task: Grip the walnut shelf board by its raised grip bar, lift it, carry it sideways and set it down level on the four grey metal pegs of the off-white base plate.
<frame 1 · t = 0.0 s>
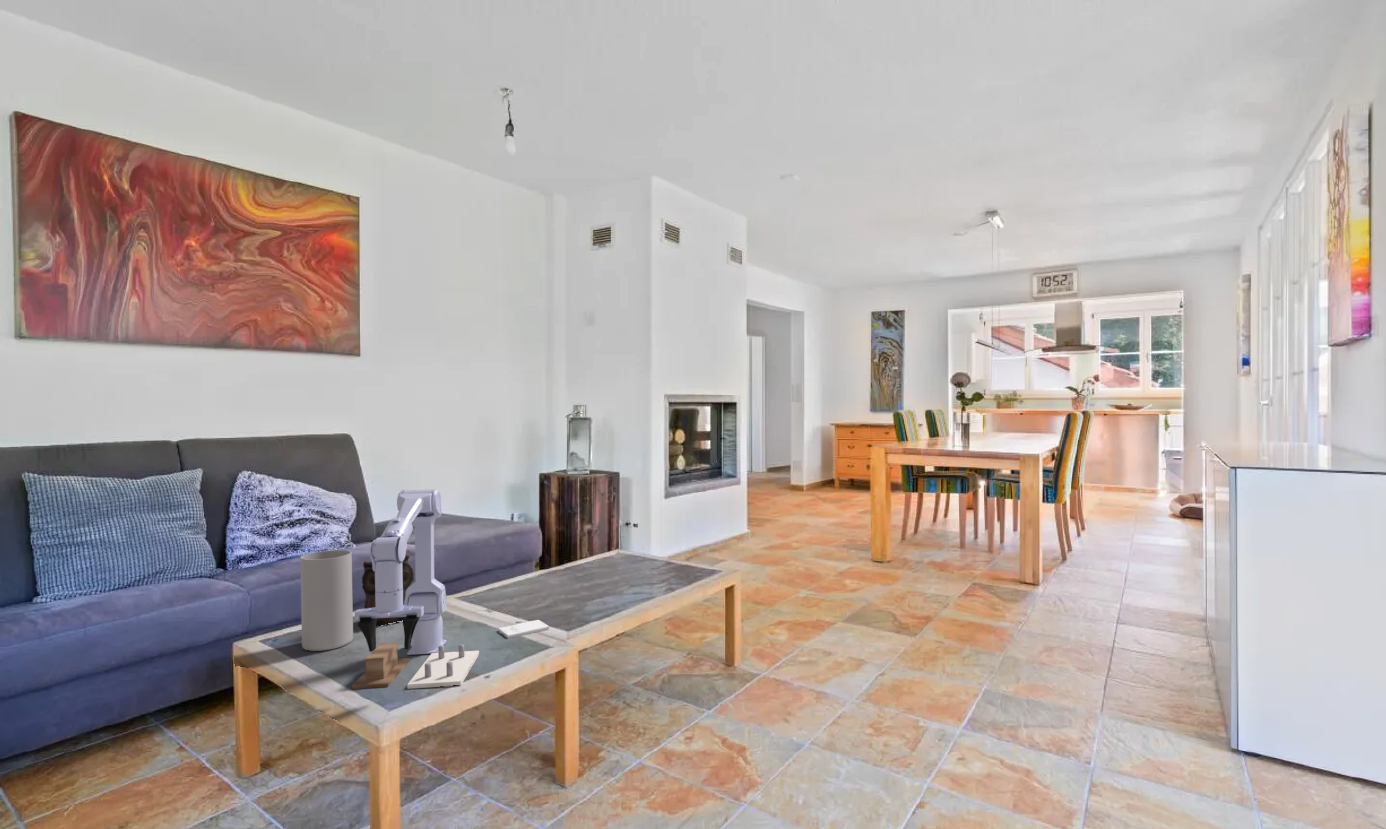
hand: (390, 649, 150), 10 cm above the table, tool pointing down, fingers open, 7 cm apart
peg base: (445, 670, 163), on the table
cylinder vase: (328, 644, 183), on the table
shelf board: (382, 676, 161), on the table
owl: (390, 620, 204), on the table
external hard drive: (523, 632, 192), on the table
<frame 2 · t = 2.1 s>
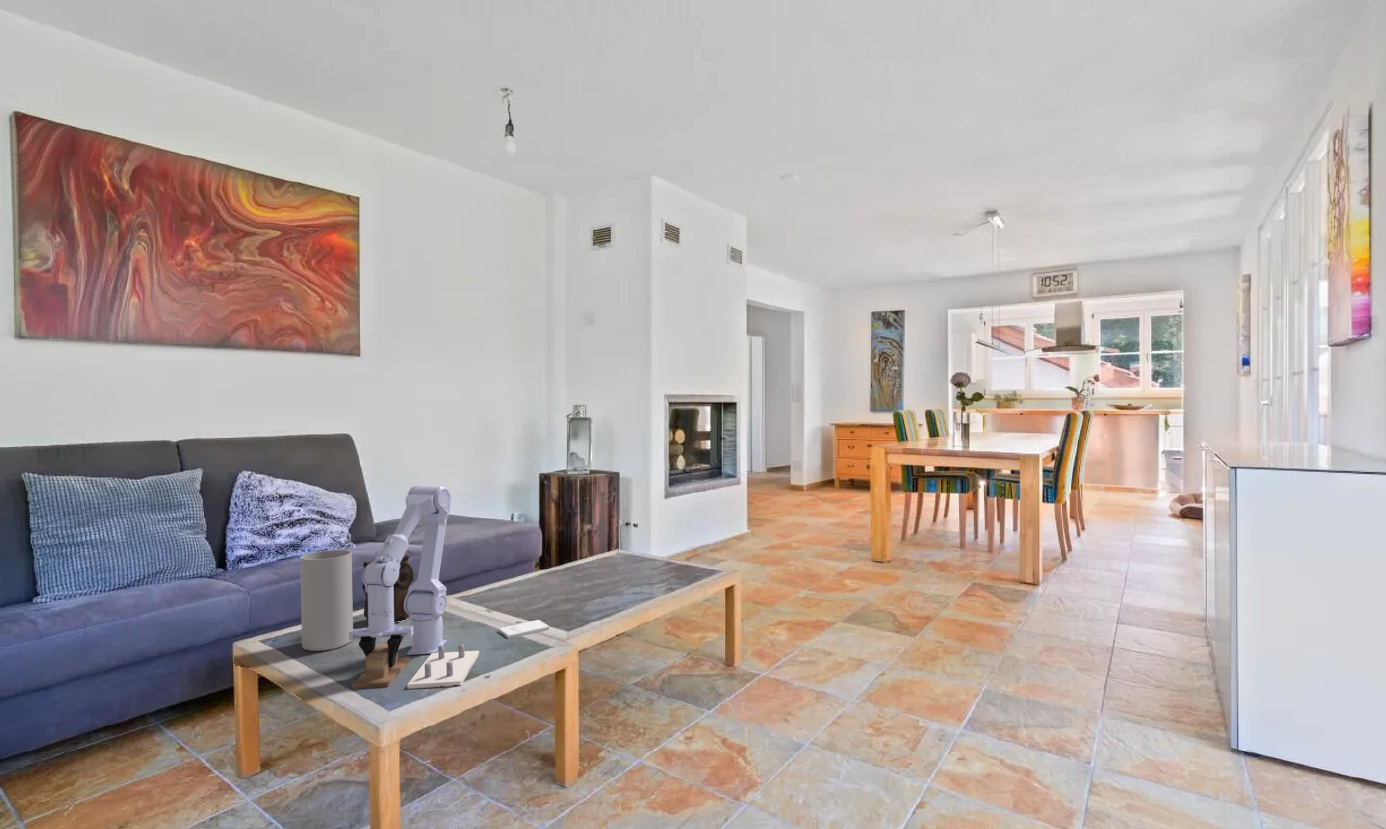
hand: (382, 666, 161), 2 cm above the table, tool pointing down, fingers closed on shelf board, 4 cm apart
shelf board: (382, 674, 161), on the table, touching gripper
everything else where it was.
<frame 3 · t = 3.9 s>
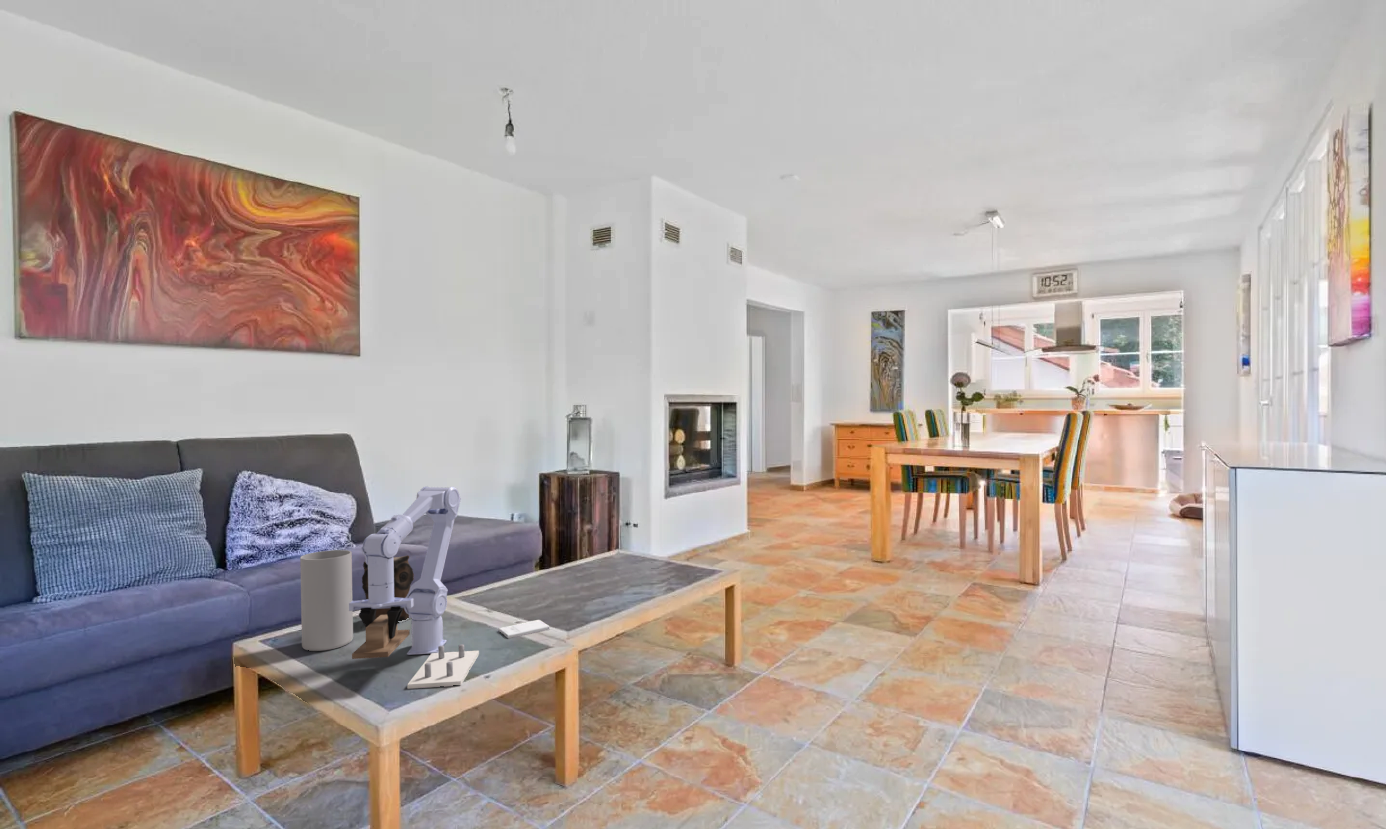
hand: (382, 638, 161), 9 cm above the table, tool pointing down, fingers closed on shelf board, 4 cm apart
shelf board: (382, 645, 161), point 7 cm above the table, touching gripper
everything else where it was.
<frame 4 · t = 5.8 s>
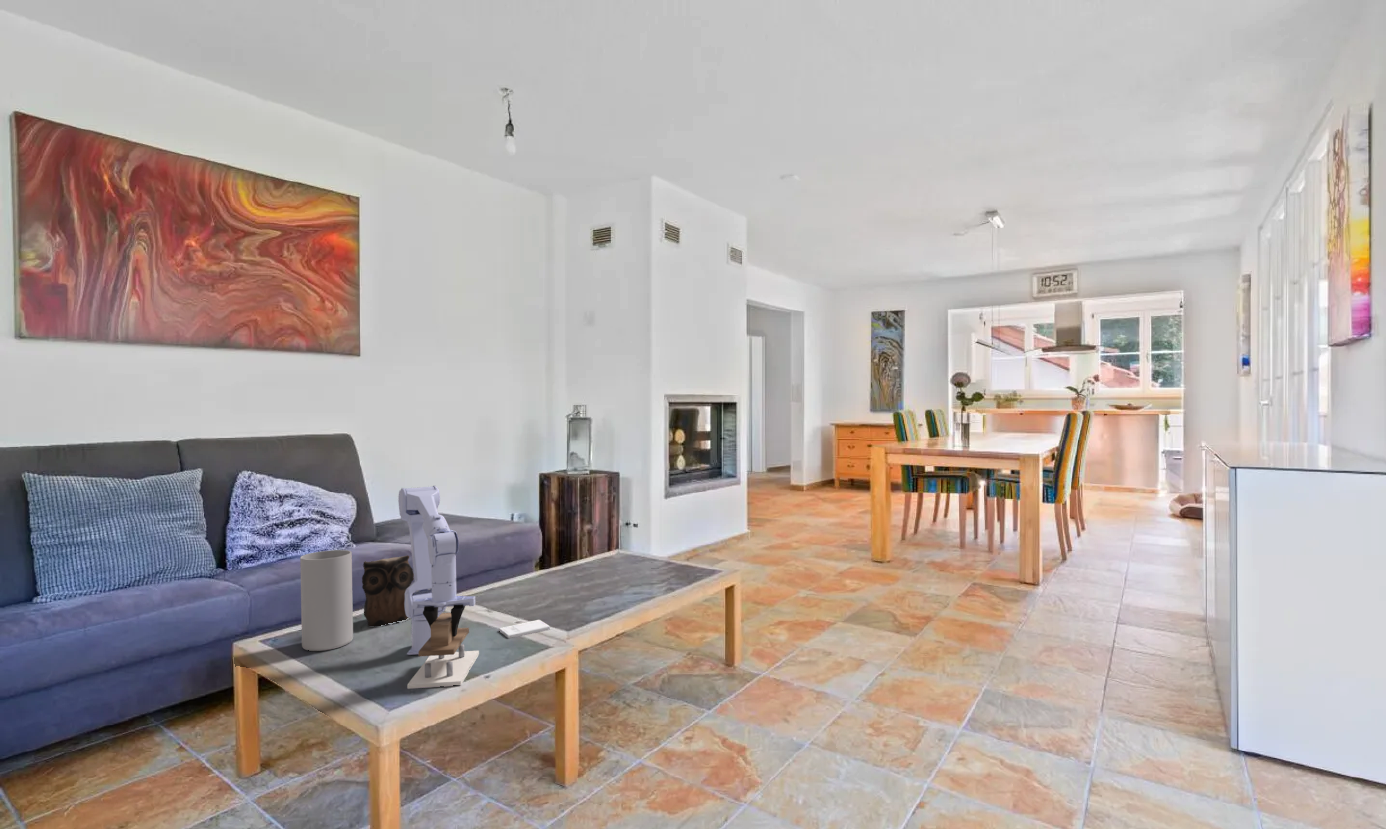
hand: (444, 635, 162), 9 cm above the table, tool pointing down, fingers closed on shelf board, 4 cm apart
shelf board: (445, 643, 162), point 7 cm above the table, touching gripper
everything else where it was.
when the fingers open (7 cm above the table, at t = 7.2 s): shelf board stays where it is, resting on peg base.
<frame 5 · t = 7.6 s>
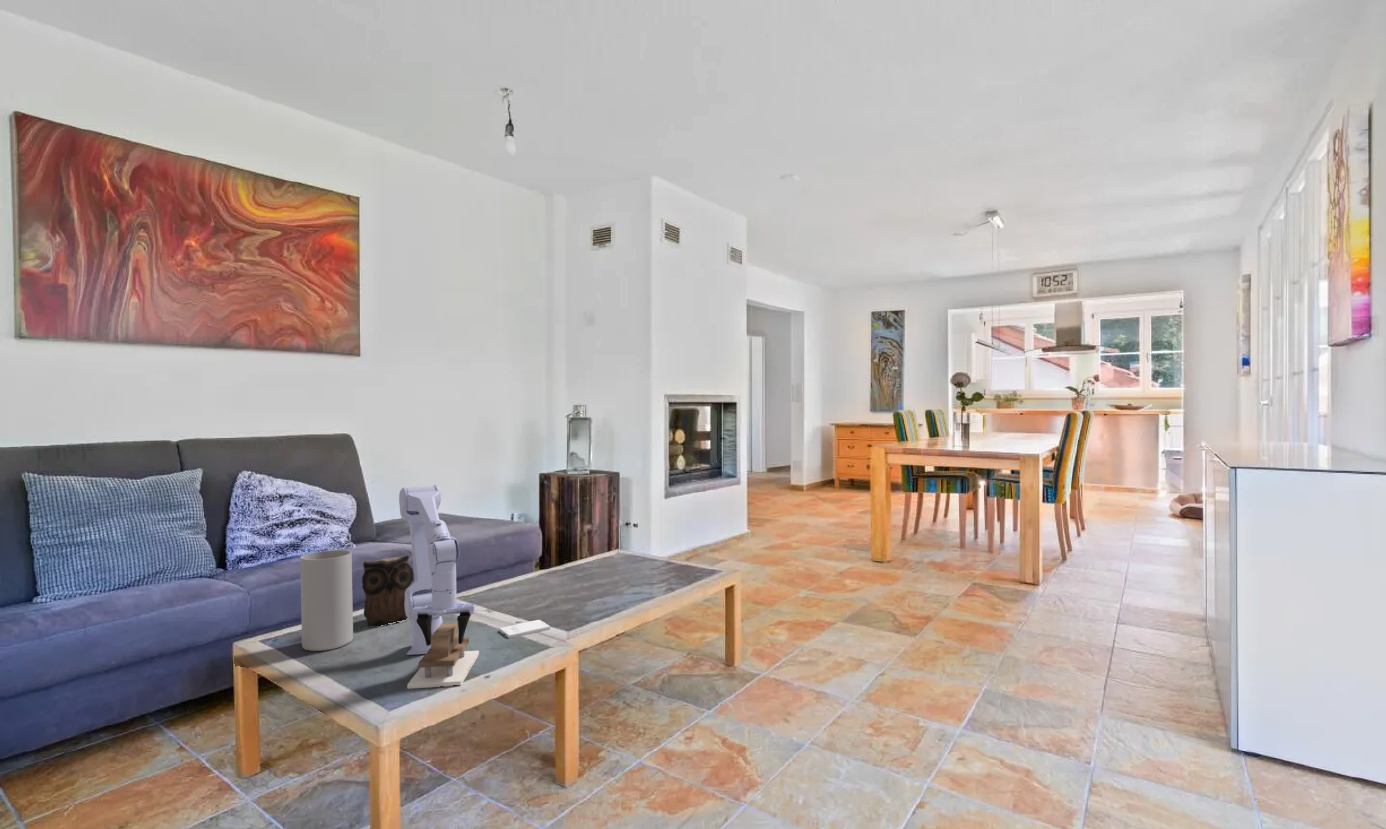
hand: (445, 643, 163), 7 cm above the table, tool pointing down, fingers open, 7 cm apart
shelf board: (445, 654, 162), point 4 cm above the table, touching peg base
everything else where it was.
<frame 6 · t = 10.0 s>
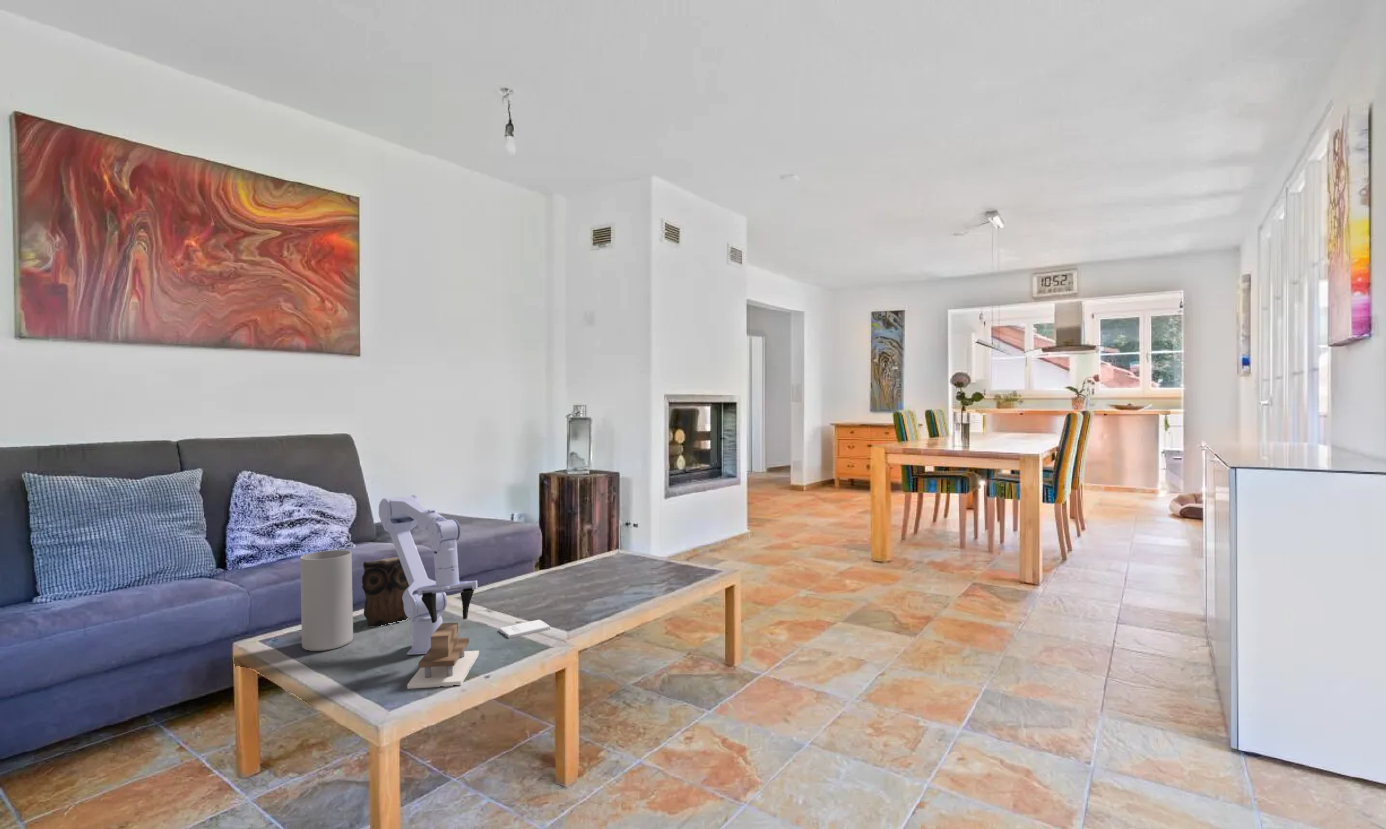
hand: (450, 620, 169), 10 cm above the table, tool pointing down, fingers open, 7 cm apart
nothing on the table moved.
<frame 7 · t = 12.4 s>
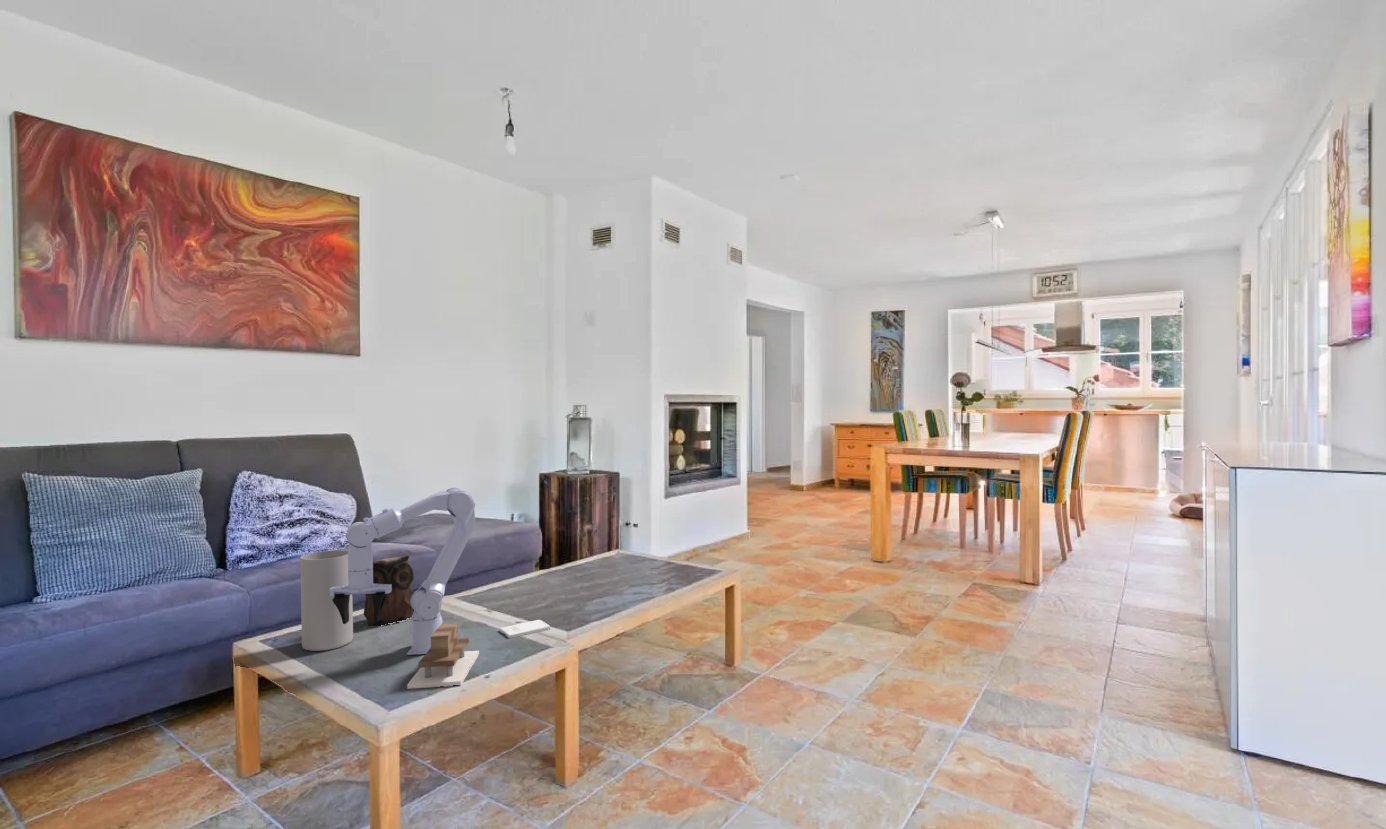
hand: (361, 622, 169), 10 cm above the table, tool pointing down, fingers open, 7 cm apart
nothing on the table moved.
at the end: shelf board 0.0 cm off-centre on the peg base, point 4.0 cm above the peg base's base; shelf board tilted 0°; the gripper is holding nothing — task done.
